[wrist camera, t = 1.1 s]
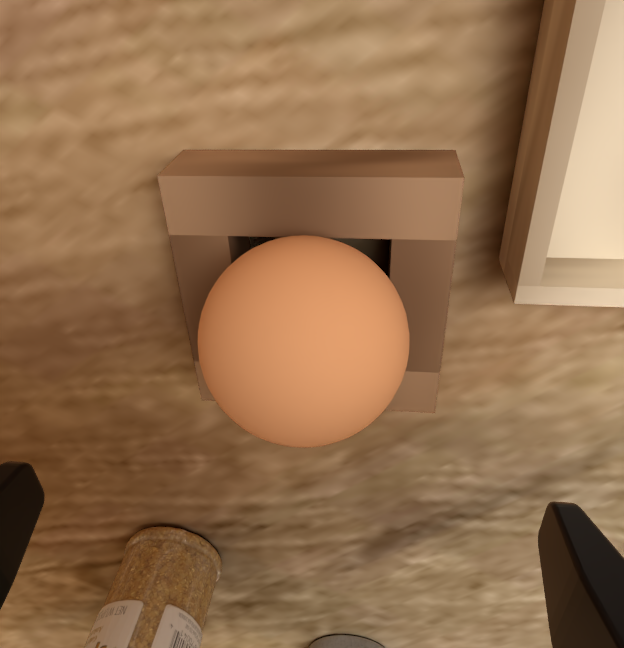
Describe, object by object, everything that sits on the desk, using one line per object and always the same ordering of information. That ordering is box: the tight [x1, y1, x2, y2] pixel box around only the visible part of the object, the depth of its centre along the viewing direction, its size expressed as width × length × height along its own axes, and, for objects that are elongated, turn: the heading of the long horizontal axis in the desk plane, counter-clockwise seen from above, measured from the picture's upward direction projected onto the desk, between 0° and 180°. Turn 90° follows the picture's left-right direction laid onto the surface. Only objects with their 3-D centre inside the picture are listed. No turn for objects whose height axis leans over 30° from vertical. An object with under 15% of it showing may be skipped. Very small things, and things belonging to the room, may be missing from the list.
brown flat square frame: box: [157, 150, 464, 413], centre depth 15 cm, size 7×7×2 cm
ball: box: [197, 235, 409, 447], centre depth 13 cm, size 5×5×5 cm
